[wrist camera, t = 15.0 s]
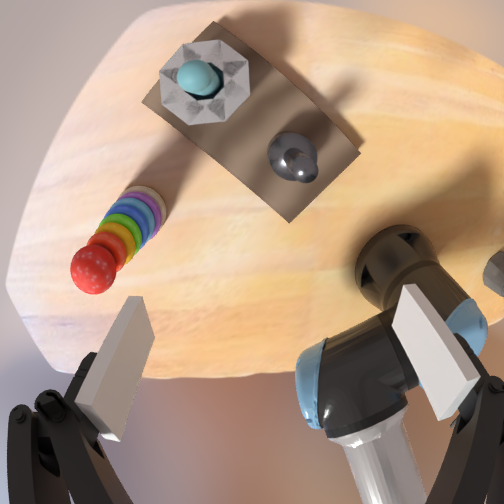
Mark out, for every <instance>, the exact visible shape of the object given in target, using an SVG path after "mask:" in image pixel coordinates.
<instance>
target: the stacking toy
mask: <svg viewBox="0 0 504 504" xmlns="http://www.w3.org/2000/svg"><path fill="white" fill-rule="evenodd" d="M165 219H166V207H165V204H164V201H163V199H162V198H161V196H160V195H159V194H158V193H157V192H156V191H154V190H153V189H151V188H149V187H145V186H133V187H130V188H128V189H126V190H125V191H124V192H123V193H122V194H121V195H120V196H119V198H118V200H117V201H116V202H115V203H114V204H113V205H112V206H111V208H110V210H109V211H108V212H107V213H106V215H105V217H104V219H103V220H102V221H101V223H100V225H99V227H98V229H97V230H96V232H95V234H94V235H93V236H92V237H91V238H90V239H89V241H88V243H87V246H85V247H83V248H81V249H80V250H79V251H78V252H77V253H76V254H75V255H74V257H73V259H72V262H71V268H70V271H71V277H72V279H73V281H74V283H75V285H76V286H77V287H78V288H79V289H80V290H82V291H83V292H85V293H88V294H100V293H103V292H105V291H106V290H107V289H109V288H110V287H111V285H112V284H113V282H114V280H115V277H116V272H118V271H119V270H120V269H121V268H122V267H123V266H124V265H125V264H127V263H128V262H129V261H130V260H131V259H132V258H133V256H134V255H135V254H136V253H137V252H138V251H139V249H141V248H142V247H143V246H144V245H145V243H146V242H148V241H149V240H150V239H151V238H153V237H154V236H155V235H156V234H157V232H158V231H159V230H160V229H161V228H162V226H163V225H164V222H165Z"/></svg>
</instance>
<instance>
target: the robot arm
mask: <svg viewBox="0 0 504 504" xmlns="http://www.w3.org/2000/svg"><path fill="white" fill-rule="evenodd" d="M355 279H356V283H357V285H358V288H359V289H360V291H361V293H362V295H363V296H364V297H365V299H366V300H367V301H369V302H370V303H371V304H373V305H374V306H376V307H377V308H378V309H380V310H381V311H382V312H381V313H379V314H378V315H375V316H373V317H371V318H369V319H368V320H366V321H364V322H362V323H360V324H358V325H356V326H354V327H352V328H350V329H348V330H346V331H344V332H342V333H340V334H337V335H335V336H333V337H331V338H328V337H327V338H325V339H323V341H322V342H320V343H318V344H316V345H314V346H312V347H310V348H308V349H306V350H304V351H303V352H302V353H301V354H300V356H299V358H298V360H297V364H296V371H295V379H296V389H297V395H298V400H299V404H300V407H301V411H302V414H303V416H304V418H306V421H307V423H308V425H309V426H310V427H311V428H313V429H322V428H324V429H325V432H326V435H327V438H328V439H329V440H330V441H333V442H336V443H338V444H341V445H342V446H343V448H344V451H345V453H346V456H347V459H348V462H349V465H350V468H351V470H352V473H353V476H354V479H355V482H356V485H357V488H358V490H359V493H360V496H361V499H362V502H363V504H484V501H485V498H486V495H487V501H486V504H504V382H503V381H502V380H501V379H500V378H498V377H496V376H489V374H488V373H487V371H486V369H485V368H484V366H483V365H482V363H481V362H480V360H479V359H478V355H479V354H480V352H481V350H482V348H483V346H484V344H485V341H486V338H487V333H488V324H487V321H486V318H485V317H484V315H483V314H482V312H481V311H480V309H479V308H478V306H477V304H476V302H475V301H474V299H471V298H470V296H469V295H468V294H467V293H466V292H465V291H464V290H463V289H462V288H461V286H460V285H459V284H458V283H457V282H456V281H455V280H454V279H453V278H452V277H451V276H450V275H449V274H448V272H447V271H446V270H445V269H444V268H443V267H442V266H441V265H440V263H439V261H438V258H437V256H436V253H435V251H434V248H433V246H432V244H431V242H430V240H429V239H428V238H427V237H426V236H425V235H424V234H423V233H422V232H421V231H420V230H418V229H417V228H415V227H412V226H409V225H396V226H392V227H389V228H387V229H385V230H383V231H381V232H379V233H378V234H377V235H375V236H374V237H373V238H372V239H371V240H370V241H369V242H368V243H367V244H366V245H365V247H364V248H363V250H362V251H361V253H360V255H359V257H358V260H357V263H356V268H355ZM154 338H155V336H154V333H153V330H152V327H151V324H150V321H149V317H148V314H147V311H146V308H145V304H144V301H143V297H142V296H129V297H128V298H127V300H126V302H125V304H124V305H123V307H122V309H121V311H120V312H119V314H118V316H117V318H116V320H115V321H114V323H113V325H112V327H111V329H110V331H109V333H108V334H107V336H106V338H105V340H104V342H103V344H102V346H101V348H100V350H99V352H98V353H94V352H90V353H89V354H88V355H87V356H86V357H85V358H84V359H83V360H82V362H81V364H80V366H79V368H78V370H77V371H76V373H75V377H73V379H72V381H71V383H70V386H69V387H68V389H67V392H66V394H65V396H64V398H63V397H62V396H61V395H60V393H59V392H57V391H56V390H51V389H50V390H46V391H44V392H42V393H40V394H39V396H38V397H37V398H36V400H35V409H36V410H37V411H38V412H33V411H32V410H31V409H30V408H29V407H28V406H26V405H22V404H21V405H17V406H16V407H15V408H13V409H12V411H11V412H10V416H9V423H8V440H7V473H8V474H7V475H8V492H9V503H10V504H71V501H70V496H69V492H70V494H71V496H72V499H73V501H74V503H75V504H133V502H132V500H131V499H130V497H129V496H128V494H127V493H126V491H125V489H124V487H123V486H122V484H121V482H120V481H119V479H118V477H117V475H116V473H115V471H114V469H113V468H112V466H111V464H110V462H109V460H108V458H107V456H106V454H105V452H104V450H103V448H102V446H101V444H100V441H99V440H98V439H97V437H98V433H99V432H100V433H101V434H102V435H103V437H104V438H106V439H110V440H115V441H119V442H121V439H122V435H123V432H124V429H125V425H126V422H127V419H128V416H129V412H130V409H131V406H132V403H133V400H134V396H135V393H136V390H137V387H138V384H139V381H140V378H141V375H142V372H143V369H144V367H145V364H146V361H147V358H148V355H149V352H150V350H151V347H152V344H153V341H154ZM418 385H420V386H421V388H423V389H424V390H425V392H426V394H427V396H428V399H429V401H430V403H431V405H432V407H433V410H434V412H435V414H436V417H437V419H438V421H440V420H443V419H445V418H448V417H451V416H452V415H453V414H454V412H455V411H456V410H457V409H458V410H459V412H460V414H459V415H458V416H457V418H456V419H455V420H454V421H453V422H452V424H451V425H450V427H453V425H454V424H455V423H456V424H455V427H454V431H453V434H452V437H451V440H450V443H449V447H448V450H447V452H446V455H445V458H444V461H443V463H442V466H441V469H440V471H439V474H438V476H437V478H436V481H435V483H434V485H433V488H432V490H431V492H430V495H429V496H428V498H426V494H425V490H424V487H423V483H422V480H421V476H420V473H419V470H418V466H417V463H416V460H415V457H414V453H413V450H412V447H411V444H410V441H409V438H408V436H407V432H406V430H405V427H404V424H403V421H402V420H403V416H404V414H405V412H406V410H407V408H408V406H409V404H408V401H407V399H406V396H405V392H407V391H408V390H410V389H412V388H414V387H416V386H418ZM68 490H69V491H68Z"/></svg>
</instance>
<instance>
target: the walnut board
mask: <svg viewBox="0 0 504 504" xmlns="http://www.w3.org/2000/svg"><path fill="white" fill-rule="evenodd" d="M211 40H221V41H223V42H224V43H226V44H227V45H228V46H230V47H231V48H232V49H234V50H235V51H236V52H238V53H239V54H240V55H242V56H243V57H244V58H245V59H247V60H248V66H249V84H250V97H249V98H248V99H247V100H246V101H245V102H244V103H243V104H242V105H241V106H240V107H239V108H238V109H237V110H236V111H235V112H234V114H233V115H232V116H231V117H230V118H229V119H228V120H227V121H225V122H214V123H204V124H195V125H188V124H186V123H185V122H184V121H183V120H181V119H180V118H179V117H177V116H176V115H175V114H174V113H172V112H171V111H170V110H168V109H167V108H166V107H164V106H163V105H162V103H161V90H160V79H159V80H158V81H157V83H156V84H155V85H154V86H153V88H152V89H151V90H150V91H149V93H148V94H147V95H146V97H145V98H144V99H143V101H142V103H143V104H144V105H146V106H147V107H148V108H150V109H151V110H152V111H154V112H155V113H156V114H158V115H159V116H160V117H162V118H163V119H164V120H166V121H167V122H168V123H169V124H171V125H172V126H173V127H175V128H176V129H177V130H178V131H180V132H181V133H182V134H183V135H185V136H186V137H187V138H188V139H190V140H191V141H192V142H194V143H195V144H196V145H197V146H198V147H200V148H201V149H202V150H203V151H205V152H206V153H207V154H208V155H210V156H211V157H212V158H213V159H215V160H216V161H217V162H218V163H219V164H221V165H222V166H223V167H224V168H225V169H227V170H228V171H229V172H230V173H231V174H233V175H234V176H235V177H236V178H237V179H239V180H240V181H241V182H242V183H243V184H245V185H246V186H247V187H248V188H249V189H250V190H252V191H253V192H254V193H255V194H256V195H257V196H259V197H260V198H261V199H262V200H263V201H264V202H266V203H267V204H268V205H269V206H270V207H271V208H272V209H274V210H275V211H276V212H277V213H278V214H279V215H280V216H282V217H283V218H284V219H285V220H286V221H287V222H288V223H290V222H291V221H292V220H293V219H294V218H295V217H296V216H297V215H299V214H300V213H301V212H302V211H303V210H304V209H305V208H306V207H307V206H308V205H309V204H310V203H311V202H312V201H313V200H314V199H315V198H316V197H317V196H318V195H319V194H320V193H321V192H322V191H323V190H324V189H325V188H326V187H327V186H328V185H329V184H330V183H331V182H332V181H333V180H334V179H335V178H336V177H337V176H338V175H340V174H341V173H342V172H343V171H344V170H345V169H346V168H347V167H348V166H349V165H350V164H351V163H352V162H353V161H354V160H355V159H356V158H357V157H358V156H359V155H360V154H361V153H360V152H359V150H358V149H357V148H356V147H355V146H354V145H353V144H352V143H351V141H350V140H349V139H348V138H347V137H346V136H345V135H344V134H343V133H342V132H341V130H340V129H339V128H338V127H337V126H336V125H335V124H334V123H333V122H332V121H331V120H330V119H329V118H328V117H327V116H326V115H325V114H324V113H323V112H322V111H321V110H320V109H319V108H318V107H317V106H316V105H315V104H314V103H313V102H312V101H311V100H310V99H309V98H308V97H307V96H306V95H305V94H304V93H303V92H302V91H301V90H300V89H299V88H297V87H296V86H295V85H294V84H293V83H292V82H291V81H290V80H289V79H287V78H286V77H285V76H284V75H283V74H282V73H281V72H279V71H278V70H277V69H276V68H275V67H274V66H272V65H271V64H270V63H269V62H268V61H266V60H265V59H264V58H263V57H262V56H260V55H259V54H258V53H257V52H255V51H254V50H253V49H251V48H250V47H249V46H248V45H246V44H245V43H244V42H242V41H241V40H240V39H238V38H237V37H236V36H234V35H233V34H231V33H230V32H229V31H227V30H226V29H224V28H223V27H222V26H220V25H219V24H217V23H216V22H214V21H213V22H212V23H211V24H210V25H209V26H208V27H207V28H206V29H205V30H204V31H203V32H202V33H201V34H200V35H199V36H198V37H197V38H196V39H195V40H194V41H193V42H192V43H194V42H202V41H211ZM285 131H292V132H296V133H298V134H300V135H302V136H304V137H306V138H308V139H309V140H310V141H311V142H312V143H313V144H314V146H315V148H316V151H317V157H318V158H317V166H318V170H319V171H318V176H317V177H316V179H315V180H314V181H312V182H310V183H301V182H299V181H288V180H285V179H283V178H281V177H279V176H278V175H277V174H276V173H275V172H274V171H273V169H272V167H271V165H270V163H269V160H268V157H267V147H268V144H269V142H270V141H271V139H272V138H273V137H274V136H275V135H277V134H279V133H281V132H285Z"/></svg>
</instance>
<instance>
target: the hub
mask: <svg viewBox="0 0 504 504" xmlns="http://www.w3.org/2000/svg"><path fill="white" fill-rule="evenodd" d="M177 81H178V84H179V86H180V87H181V88H182V89H184V90H185V91H187V92H191V93H192V94H193V95H195V96H196V97H197V98H199V99H200V100H207V99H214V97H215V96H216V95H217V94H218V93H219V92H220V91H221V90H222V89H223V88H224V75H223V73H221V72H220V71H219V70H217V69H216V68H211V67H210V66H209V64H207V63H206V62H204V61H202V60H190V61H188V62H186V63H184V64H183V65H182V66H181V67H180V69H179V70H178V73H177Z"/></svg>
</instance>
